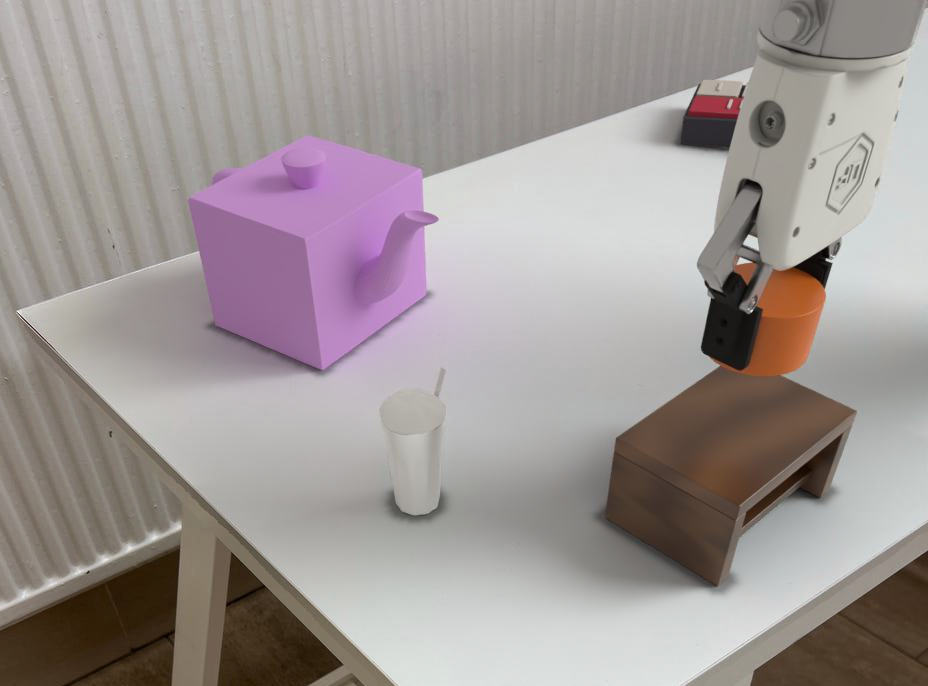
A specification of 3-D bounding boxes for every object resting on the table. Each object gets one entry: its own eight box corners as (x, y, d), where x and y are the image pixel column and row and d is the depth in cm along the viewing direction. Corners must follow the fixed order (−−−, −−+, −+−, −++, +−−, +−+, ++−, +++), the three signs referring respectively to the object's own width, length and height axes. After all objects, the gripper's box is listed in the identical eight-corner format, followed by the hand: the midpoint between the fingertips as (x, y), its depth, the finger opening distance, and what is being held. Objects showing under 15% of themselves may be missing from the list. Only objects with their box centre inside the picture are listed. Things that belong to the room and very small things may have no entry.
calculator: (699, 75, 117) (830, 81, 113) (695, 113, 120) (822, 120, 116) (683, 110, 110) (821, 118, 106) (679, 149, 113) (813, 158, 109)
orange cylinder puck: (828, 347, 62) (847, 288, 59) (769, 389, 59) (786, 330, 56) (741, 308, 65) (754, 250, 62) (681, 347, 62) (692, 289, 59)
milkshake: (468, 495, 73) (467, 381, 65) (417, 531, 70) (410, 416, 63) (426, 469, 75) (420, 355, 67) (374, 502, 72) (363, 388, 65)
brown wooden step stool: (828, 491, 72) (857, 410, 67) (717, 586, 66) (739, 506, 61) (717, 433, 77) (736, 353, 72) (604, 517, 71) (615, 437, 65)
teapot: (388, 398, 81) (375, 235, 70) (177, 309, 91) (139, 155, 80) (489, 317, 89) (491, 160, 78) (286, 243, 99) (264, 95, 88)
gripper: (811, 79, 42) (727, 421, 55) (996, -13, 50) (883, 307, 63) (671, 38, 45) (624, 368, 59) (864, -42, 53) (784, 266, 67)
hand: (758, 334), depth 61 cm, fingers closed on orange cylinder puck, 6 cm apart
